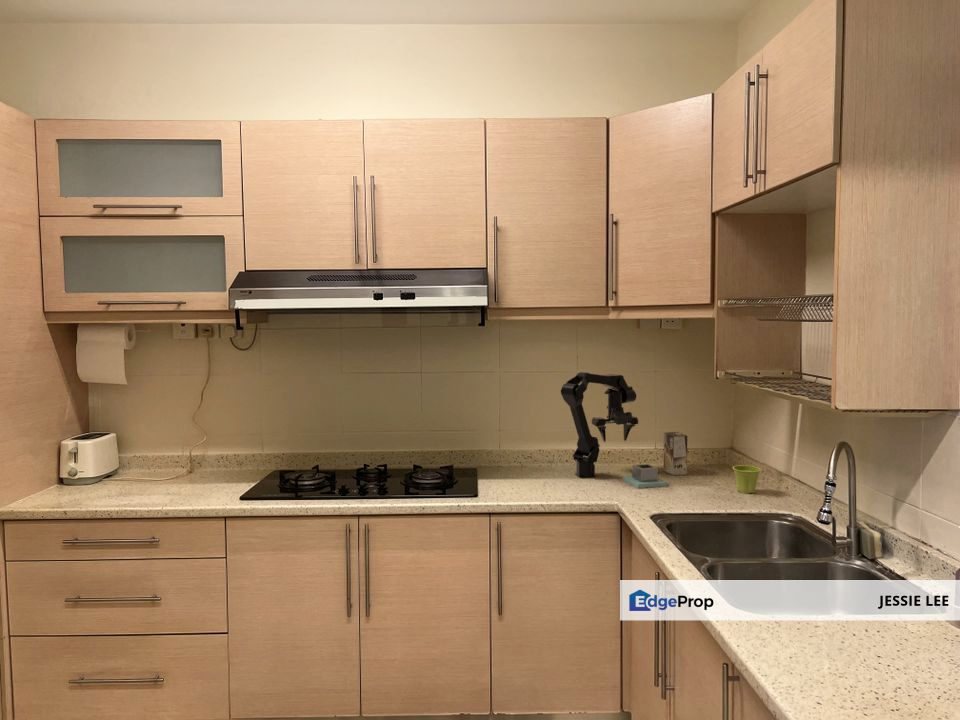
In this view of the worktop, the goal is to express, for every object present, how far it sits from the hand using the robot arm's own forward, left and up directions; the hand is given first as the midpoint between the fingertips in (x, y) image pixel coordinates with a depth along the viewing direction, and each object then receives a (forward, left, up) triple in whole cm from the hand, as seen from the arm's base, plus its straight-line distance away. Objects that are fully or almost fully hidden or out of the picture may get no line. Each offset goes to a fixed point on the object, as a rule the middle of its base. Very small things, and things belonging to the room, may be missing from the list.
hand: (614, 441), depth 262 cm
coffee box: (+22, -11, -12) cm, 27 cm away
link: (+2, -23, -11) cm, 25 cm away
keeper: (+2, -23, -12) cm, 26 cm away
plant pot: (+32, -43, -12) cm, 55 cm away
